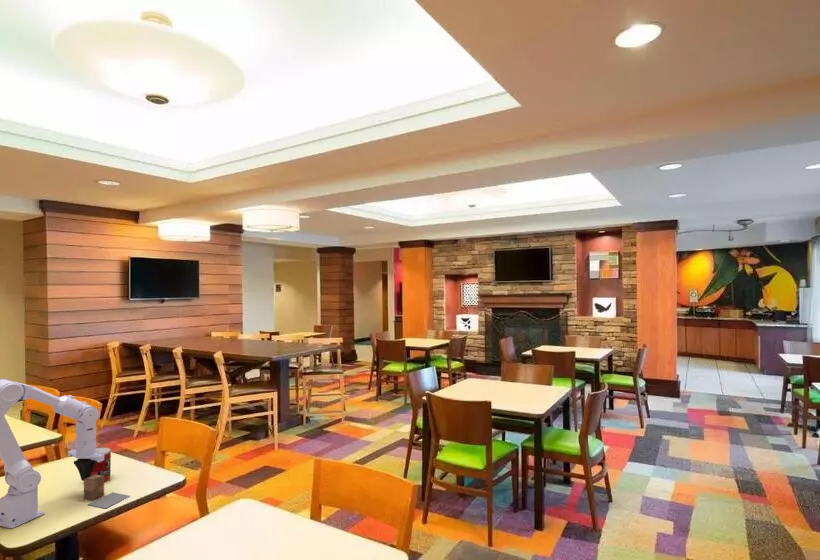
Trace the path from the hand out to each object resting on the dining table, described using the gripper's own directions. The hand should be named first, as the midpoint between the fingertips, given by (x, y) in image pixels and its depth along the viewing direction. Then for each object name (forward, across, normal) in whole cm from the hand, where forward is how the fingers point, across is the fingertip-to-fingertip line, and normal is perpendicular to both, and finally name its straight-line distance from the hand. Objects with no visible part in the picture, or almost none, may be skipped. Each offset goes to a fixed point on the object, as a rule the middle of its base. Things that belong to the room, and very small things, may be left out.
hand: (85, 479), depth 159 cm
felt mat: (+6, -11, 0) cm, 12 cm away
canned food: (+6, +7, -10) cm, 14 cm away
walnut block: (+6, -4, 0) cm, 7 cm away
